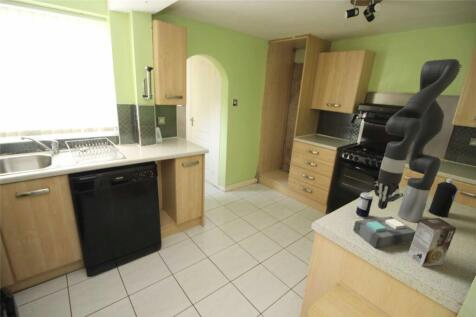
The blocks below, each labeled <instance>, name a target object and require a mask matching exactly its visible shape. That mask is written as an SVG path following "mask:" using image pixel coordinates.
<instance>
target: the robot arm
mask: <svg viewBox="0 0 476 317" xmlns="http://www.w3.org/2000/svg"><path fill="white" fill-rule="evenodd" d="M460 67H461V66H460V61H459V60H458V59H457V58H444V59H433V60H432V59H431V60H427V61H425V62H424V63H423V65H422V67H421V70H420V75H419V76H420V78H419V91H418V92H416V93H415V94H413V95H411V97H410V98H409V99H408V101H407V102H406V104H405V105H404V106H403V108H401V109H400V110H399V111H397V112H395V113H394V114H393V115H392V116H390V117H389V119H387V121H386V124H385V132H386V133H387V134H388V135H392V136H397V137H402V138H403V139H402V140H401V141H388V143H387V144H386V148H385V152H384V154H383V158H382V161H381V165H380V167H379V173H378V178H377V180H375V181H372V182H371V186H372V188H373V191H374V195H375V196H376V197H378V201H377V202H378V203H377V206H378V208H379V209H380V210H385V209H386V208H387V207H388V204H389V203H390V202H392V203H393V202H395V201H396V200H398V199H400V198H402V200H401V203H400V207H399V209H398V213H397V215H398V217H400V218H402V219H403V220H405V221H409V222H413V223H419V220H420V219H423V215H424V212H425V209H426V207H427V201H428V197H429V194H430V191H431V189H432V186H433V185H434V182H435V180H436V177H437V175H438V172H439V170H440V168H441V164H442V161H441V158H439V157H437V156H433V155H430V154H425V153H424V148H425V147H426V146H427V144H428V143H429V142H430V141H431V140H433V139H434V138H435V137H436V136H437V135H438V134H440V132H441V131H442V129H443V125H444V119H445V112H444V111H443V108H442V107H441V106H440V104H439V103H438V101H437V100H436V99H437V98H439V97H440V95H441V94H443V92H445V90H446V89H448V88H449V86H451V84H453V82H454V81H455V80H456V78H457V76H458V74H459V72H460ZM411 146H412V148H411ZM410 148H411V152H410V156H409V160H408V168H409V170H410V171H411V172H412V171H413V172H415V173H419V174H422V175H423V177H411V178H408V180H407V182H406V186H405V190H404V193H402V192H401V191H400V190H399V189H400V186H399V185H400V183H401V182H402V178H403V174H404V171H405V169H406V161H407V158H408V154H409V150H410Z"/></svg>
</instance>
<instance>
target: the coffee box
mask: <svg viewBox="0 0 476 317" xmlns="http://www.w3.org/2000/svg"><path fill="white" fill-rule="evenodd" d="M456 230H457V227H456V226H454V225H452V224H450V223H449V222H448V221H445V220H443V219H442V218H441V217H440V218H439V217H436V218H421V219H420V220H419V222H417V227H416V229H415V231H416V232H415V235H414V238H413V241H412V242H411V243H410V244H411V245H410V248H409V250H408V253H407V255H408V257H410V259H412V260H414V262H416V263H417V264H418V265H419V266H421V267H431V266H441V265H443V264H444V261H445V259H446V257H447V253H448V251H449V248H450V245H451V243H452V240H453V238H454V235H455V232H456Z"/></svg>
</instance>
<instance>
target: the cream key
mask: <svg viewBox="0 0 476 317" xmlns="http://www.w3.org/2000/svg"><path fill="white" fill-rule="evenodd" d="M397 220H398V219H396V218H395V219H389V220H386V221H385V223H386V224H388V225H390V226H391V227H393V228H394V229H401V228H404V227H405V225H406V224H405V223H403V222H401V221H400V220H398V221H397ZM399 221H400V222H399ZM402 223H403V224H402ZM404 224H405V225H404Z"/></svg>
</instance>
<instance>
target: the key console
mask: <svg viewBox="0 0 476 317" xmlns="http://www.w3.org/2000/svg"><path fill="white" fill-rule="evenodd" d="M389 219H396V218H395V217H393V216H385V217H378V218H377V217H376V218H375V217H374V218H370V219H367V218H366V219H361V220H355V221H354V226H353V229H352V231H353V232H354V233H355V234H356V235H358V236H359V237H360V238H362V240H364V241H365V242H367V243H368V244H369V245H370V246H371V247H373V248H374V249H381V248H385V247H386V248H387V247H390V246H391V247H392V246H396V245H402V244H409V243H412V241H413V238H414V235H415V232H416V229H413V228H411V227H410V226H408V225H406V224H405V223H404V222H401V221H400V220H398V219H396V220H397V221H399V222H401V223H402V224H404V225H405V227H404V228H401V229H394V228H393V227H391V226H390V225H388V224H386V223H385V221H386V220H389ZM374 221H377V222H378V223H380V224H381V225H383V226H384V227H386V230H385V231H381V232H375V231H373V230H372V229H371V228H369V227H368V226H366V224H367V222H374Z"/></svg>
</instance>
